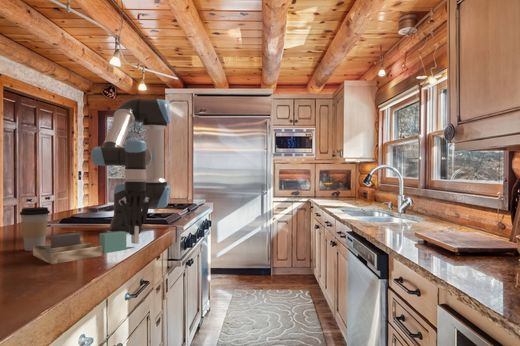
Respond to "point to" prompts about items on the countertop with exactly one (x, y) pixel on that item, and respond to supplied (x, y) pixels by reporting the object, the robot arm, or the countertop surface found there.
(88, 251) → the slot rack
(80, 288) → the countertop surface
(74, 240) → the gray rectangular block
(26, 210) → the coffee cup
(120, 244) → the teal stub
